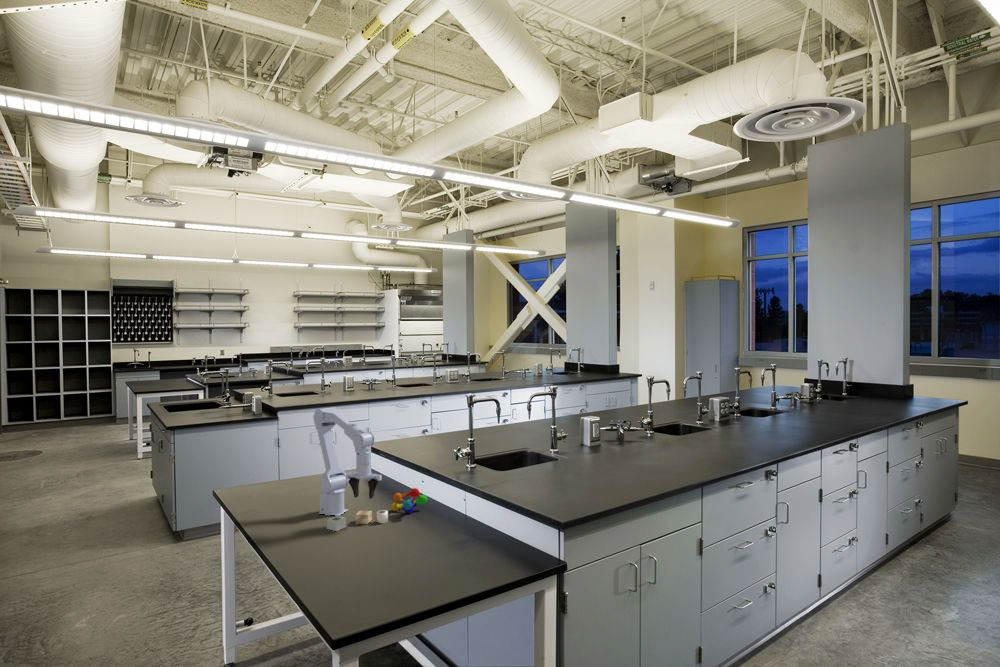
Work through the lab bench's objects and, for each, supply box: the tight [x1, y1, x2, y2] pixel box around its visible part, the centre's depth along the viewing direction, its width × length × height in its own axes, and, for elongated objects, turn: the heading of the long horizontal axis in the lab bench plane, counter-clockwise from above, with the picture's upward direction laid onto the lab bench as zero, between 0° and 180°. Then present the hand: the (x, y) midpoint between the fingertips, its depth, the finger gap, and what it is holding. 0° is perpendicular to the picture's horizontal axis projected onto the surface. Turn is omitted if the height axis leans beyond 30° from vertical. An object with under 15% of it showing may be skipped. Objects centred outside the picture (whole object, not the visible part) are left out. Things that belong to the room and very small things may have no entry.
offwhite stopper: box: [376, 509, 389, 524], centre depth 220 cm, size 4×4×4 cm
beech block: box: [355, 510, 373, 525], centre depth 220 cm, size 5×5×4 cm
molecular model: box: [390, 487, 428, 514], centre depth 233 cm, size 15×10×15 cm
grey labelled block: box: [326, 516, 347, 532], centre depth 213 cm, size 5×5×4 cm
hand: (363, 497), depth 220 cm, fingers open, 6 cm apart
